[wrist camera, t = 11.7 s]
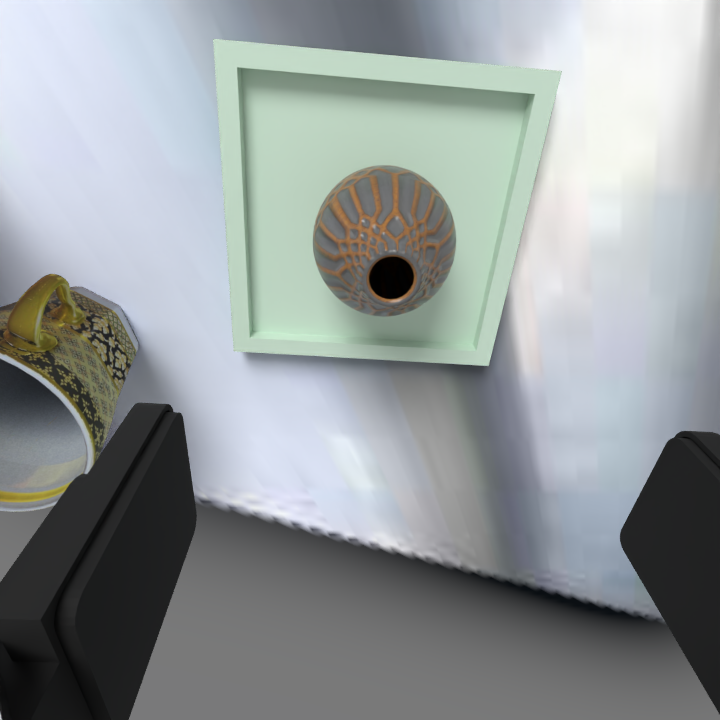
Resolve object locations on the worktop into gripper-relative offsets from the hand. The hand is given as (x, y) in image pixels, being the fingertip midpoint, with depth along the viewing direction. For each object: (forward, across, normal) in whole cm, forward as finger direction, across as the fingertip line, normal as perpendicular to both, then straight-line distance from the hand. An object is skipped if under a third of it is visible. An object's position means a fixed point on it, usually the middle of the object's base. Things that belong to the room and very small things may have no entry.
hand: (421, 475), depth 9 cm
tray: (+20, 0, 0) cm, 20 cm away
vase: (+20, 0, 0) cm, 20 cm away
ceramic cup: (+20, +17, +7) cm, 28 cm away
